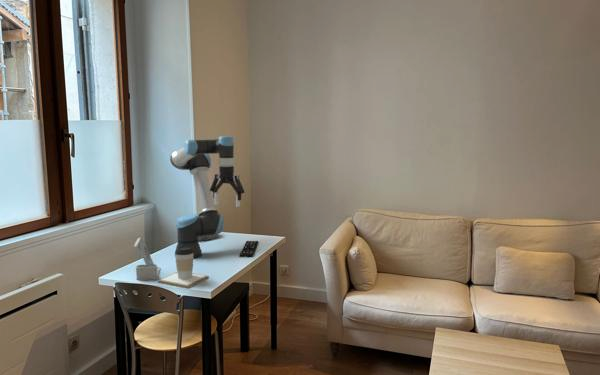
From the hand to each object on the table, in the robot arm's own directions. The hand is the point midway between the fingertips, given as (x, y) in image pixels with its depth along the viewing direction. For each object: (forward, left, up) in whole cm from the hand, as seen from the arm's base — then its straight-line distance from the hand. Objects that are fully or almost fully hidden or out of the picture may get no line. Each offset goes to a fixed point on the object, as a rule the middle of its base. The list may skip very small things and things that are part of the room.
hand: (227, 205), depth 240 cm
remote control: (-5, +30, -34) cm, 45 cm away
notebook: (-6, -30, -33) cm, 45 cm away
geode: (-44, +40, -33) cm, 68 cm away
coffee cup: (-6, -29, -32) cm, 43 cm away
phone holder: (-28, -31, -33) cm, 53 cm away
